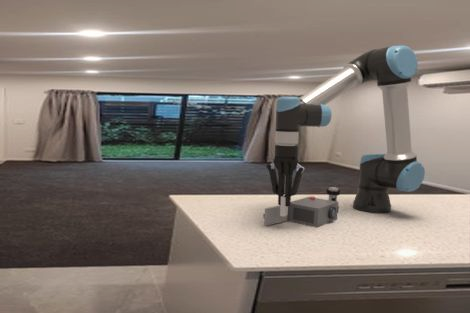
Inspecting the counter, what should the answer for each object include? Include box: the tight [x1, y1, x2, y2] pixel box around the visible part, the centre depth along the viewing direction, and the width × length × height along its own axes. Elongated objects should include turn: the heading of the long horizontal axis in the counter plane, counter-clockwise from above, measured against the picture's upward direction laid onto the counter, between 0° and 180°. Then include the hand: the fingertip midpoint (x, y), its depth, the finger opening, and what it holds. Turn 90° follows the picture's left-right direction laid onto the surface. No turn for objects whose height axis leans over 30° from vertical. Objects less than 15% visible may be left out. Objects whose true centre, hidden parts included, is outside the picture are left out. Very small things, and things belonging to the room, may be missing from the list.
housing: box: [286, 195, 339, 228], centre depth 145 cm, size 16×13×7 cm
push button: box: [326, 186, 341, 212], centre depth 157 cm, size 7×5×10 cm
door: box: [262, 205, 288, 227], centre depth 138 cm, size 2×12×6 cm, turn 133°
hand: (283, 215), depth 133 cm, fingers closed
